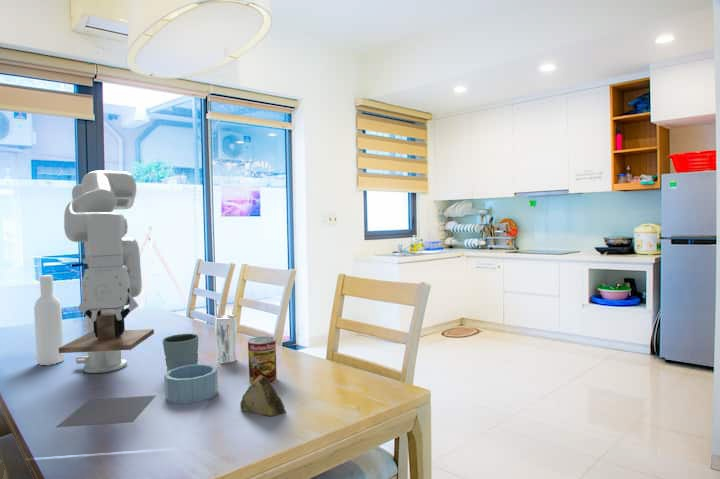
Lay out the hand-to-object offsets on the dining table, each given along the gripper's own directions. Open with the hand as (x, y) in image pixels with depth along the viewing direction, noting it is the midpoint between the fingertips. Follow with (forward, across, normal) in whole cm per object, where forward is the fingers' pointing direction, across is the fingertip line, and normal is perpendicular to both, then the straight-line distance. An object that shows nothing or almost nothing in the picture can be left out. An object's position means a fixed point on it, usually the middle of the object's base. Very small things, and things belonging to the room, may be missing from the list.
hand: (109, 335), depth 119 cm
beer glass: (+19, +21, +39) cm, 48 cm away
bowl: (+19, +17, +8) cm, 27 cm away
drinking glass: (+19, +10, +25) cm, 33 cm away
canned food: (+19, +35, +17) cm, 44 cm away
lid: (+2, 0, 0) cm, 2 cm away
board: (+19, -1, 0) cm, 19 cm away
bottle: (+20, -40, +48) cm, 66 cm away
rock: (+19, +37, -6) cm, 43 cm away
